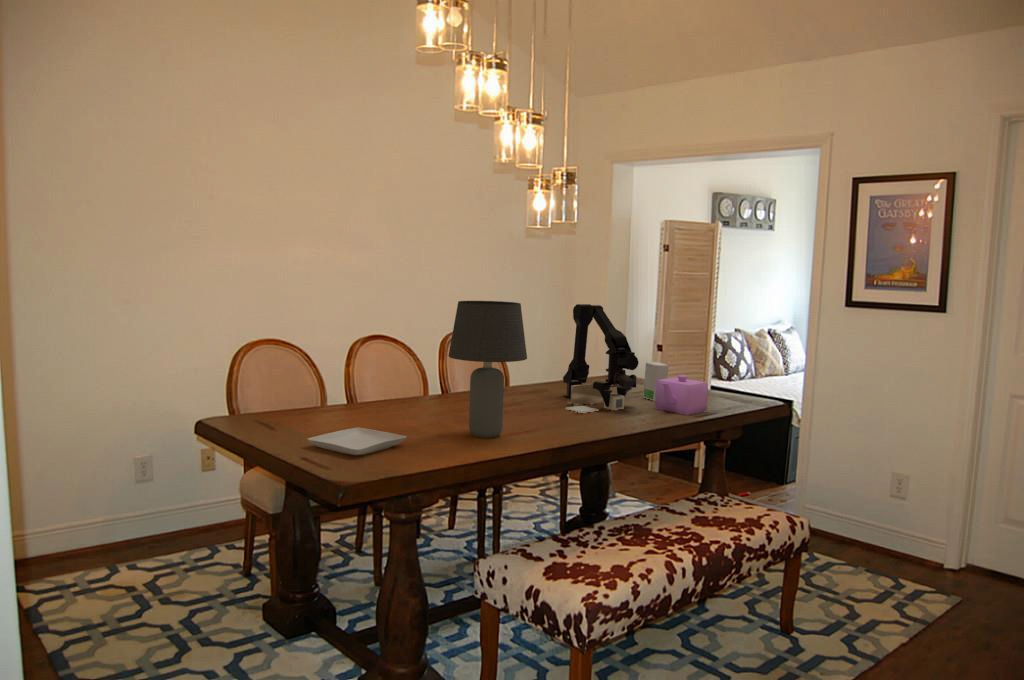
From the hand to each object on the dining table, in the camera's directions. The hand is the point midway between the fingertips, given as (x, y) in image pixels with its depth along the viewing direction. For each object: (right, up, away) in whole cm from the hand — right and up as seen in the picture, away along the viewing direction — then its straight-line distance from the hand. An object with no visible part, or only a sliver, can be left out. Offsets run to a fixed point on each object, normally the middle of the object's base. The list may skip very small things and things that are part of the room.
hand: (613, 406), depth 299 cm
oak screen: (-10, 0, +8) cm, 13 cm away
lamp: (-49, -5, -53) cm, 72 cm away
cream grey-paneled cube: (0, -1, 0) cm, 1 cm away
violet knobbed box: (+26, -2, +1) cm, 26 cm away
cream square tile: (-13, -1, -6) cm, 14 cm away
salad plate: (-86, -6, -74) cm, 113 cm away
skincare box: (+21, 0, +24) cm, 32 cm away
